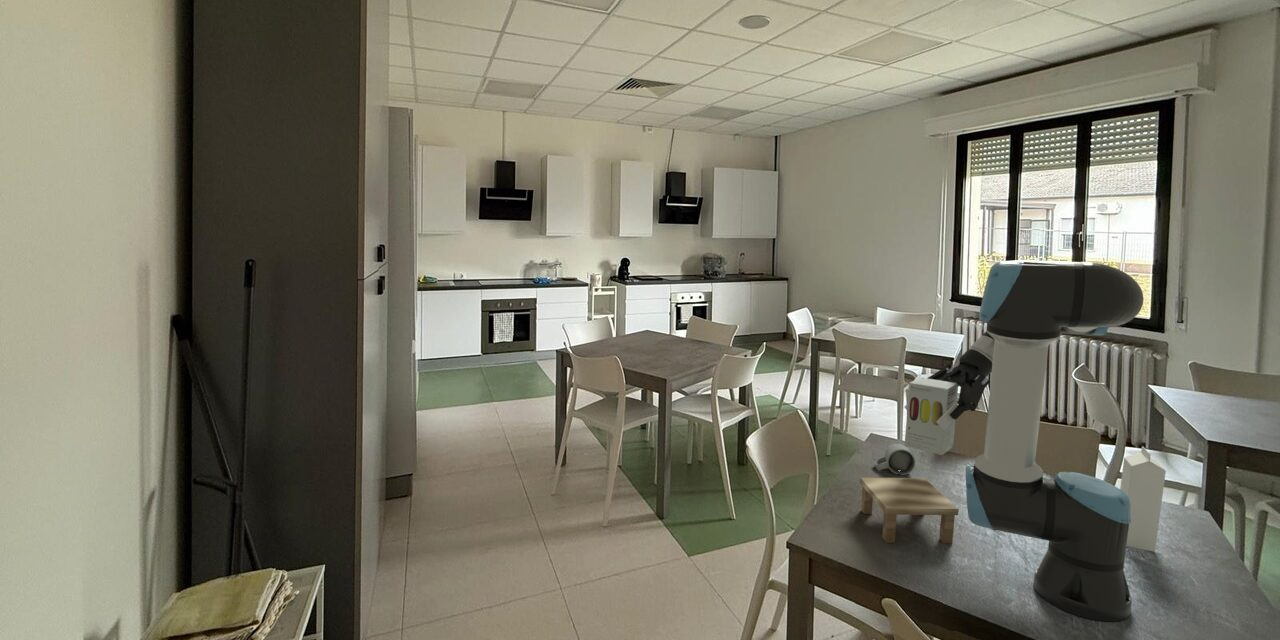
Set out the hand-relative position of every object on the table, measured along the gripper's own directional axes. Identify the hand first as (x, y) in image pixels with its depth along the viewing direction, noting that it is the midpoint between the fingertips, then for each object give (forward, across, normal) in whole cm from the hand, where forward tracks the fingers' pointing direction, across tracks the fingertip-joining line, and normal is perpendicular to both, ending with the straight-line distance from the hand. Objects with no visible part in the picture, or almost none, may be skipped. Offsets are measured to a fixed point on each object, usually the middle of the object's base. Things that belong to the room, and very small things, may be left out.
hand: (923, 418), depth 152 cm
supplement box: (+4, 0, -7) cm, 8 cm away
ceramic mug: (+11, +22, -21) cm, 33 cm away
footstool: (+23, -10, -9) cm, 27 cm away
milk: (-10, -25, -43) cm, 51 cm away
